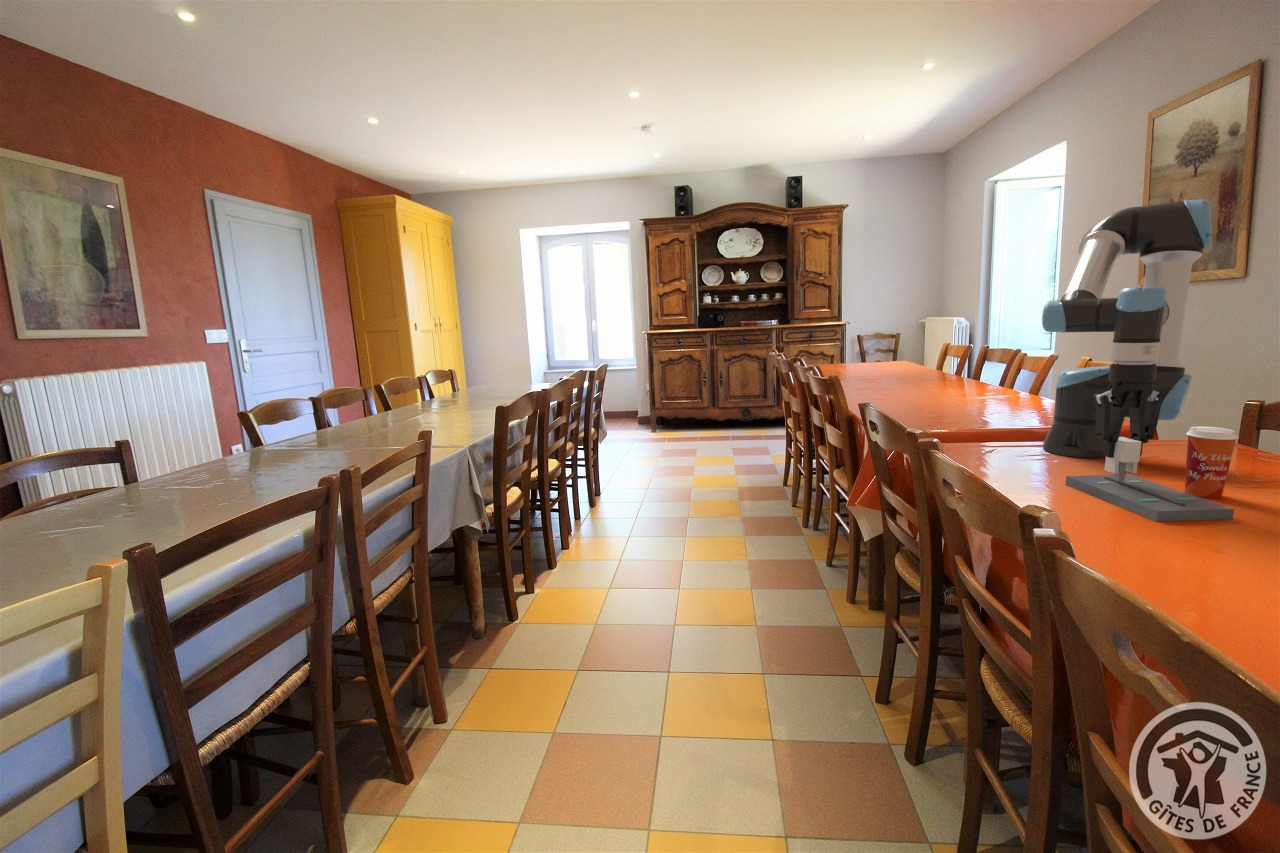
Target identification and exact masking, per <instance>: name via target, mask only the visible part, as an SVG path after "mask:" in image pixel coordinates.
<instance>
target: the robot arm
mask: <svg viewBox="0 0 1280 853" xmlns="http://www.w3.org/2000/svg"><path fill="white" fill-rule="evenodd" d="M1212 230H1213V228H1212V205H1211V203H1210V201H1209V200H1207V199H1202V198H1201V199H1190V200H1189V199H1188V200H1186V199H1183V200H1179V201H1170V202H1165V203H1164V202H1163V203H1158V204H1151V205H1142V206H1132V207H1126V208H1123V209H1120V210H1118V211H1116V212H1113V213H1111V214H1109V215H1107V216H1106V217H1104V218H1103V219H1101V220H1099V221H1098V222H1096V223H1095V224H1094V225H1093V226H1092V227H1091V228H1089V230H1088V231H1087V232H1086V233H1085V234H1084V235H1083V237H1082V238H1081V241H1080V242H1079V246H1078V254H1079V256H1078V258H1077V261H1076V263H1075V266H1074V268H1073V270H1072V272H1071V275H1069V276H1070V277H1069V279H1068V282H1067V283H1066V286H1065V288H1064V291H1063V293H1062V295H1061V297H1060V299H1054V300H1049V301H1047V302H1046V303H1045V304H1044V306H1043V310H1042V317H1041V325H1042V328H1043V330H1044V331H1046V332H1048V333H1061V334H1064V333H1113V338H1112V339H1113V340H1112V344H1111V352H1110V361H1111V362H1113V363H1111V364H1110V365H1109V366H1090V367H1089V366H1088V367H1080V368H1071V369H1065V370H1063V371H1061V372H1060V373H1059V374H1058V376H1057V377H1058V378H1057V382H1056V386H1055V397H1054V398H1055V399H1054V400H1055V402H1054V412H1053V421H1052V424H1051V427H1049V429H1048V432H1047V434H1046V437H1045V438H1044V440H1043V443H1042V444H1043V446H1042V450H1044V451H1045V452H1048V453H1051V454H1055V455H1059V456H1060V455H1061V456H1066V457H1074V458H1075V457H1076V458H1086V459H1087V458H1090V459H1091V458H1092V459H1094V458H1096V459H1097V458H1099V459H1100V458H1105V460H1104V461H1105V462H1104V471H1106V472H1109V473H1112V474H1115V473H1118V467H1119V459H1120V450H1121V444H1120V443H1117V441H1118V438H1119V437H1120V434H1121V431H1122V428H1123V425H1124V421H1125V419H1126V418H1127V419H1129V430H1130V439H1133V440H1137V441H1141V442H1142V443H1141V450H1140V457H1141V456H1142V454H1143V446H1144V444H1147V443H1149V440H1153V439H1155V436H1156V432H1157V427H1158V421H1173V420H1176V419H1178V417H1180V414H1181V413H1182V410H1183V407H1184V405H1185V402H1186V399H1187V397H1188V393H1189V390H1190V386H1191V384H1192V379H1193V376H1192V375H1191V374H1189V373H1186V372H1185V371H1186V366H1185V365H1183V364H1182V362H1181V361H1180V360H1179V357H1180V351H1181V350H1180V349H1181V343H1182V336H1183V330H1184V322H1185V316H1186V309H1187V301H1188V294H1189V288H1190V282H1191V275H1192V268H1193V264H1194V263H1195V262H1196V261H1198V260H1199V259H1200V258H1201V257H1202V256H1203V251H1204V250H1205V249H1208V248H1211V247H1212V245H1213V244H1212V243H1213V241H1212V238H1213V237H1212ZM1129 254H1131V255H1132V254H1133V255H1134V254H1139V261H1140V262H1142V263H1143V264H1144V265H1145V272H1144V277H1143V278H1144V280H1143V286H1142V287H1141V286H1139V287H1137V286H1136V287H1124V288H1122V289H1120V290H1119V292H1118V296H1117V297H1107V298H1105V297H1103V298H1102V296H1103V294H1104V291H1105V289H1106V285H1107V283H1108V281H1109V277H1110V275H1111V273H1112V271H1113V268H1114V265H1115V262H1116V260H1118V259H1119V258H1121V256H1123V255H1129ZM1105 456H1106V457H1105ZM1138 463H1139V462H1127V463H1126V471H1125V472H1129V473H1132V474H1137V471H1138V465H1139V464H1138Z"/></svg>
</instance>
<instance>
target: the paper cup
mask: <svg viewBox="0 0 1280 853" xmlns="http://www.w3.org/2000/svg"><path fill="white" fill-rule="evenodd" d="M1185 435H1187V445H1186V446H1187V448H1186V449H1187V450H1186V457H1185V458H1186V459H1185V461H1186V462H1185V480H1184V481H1185V482H1184V492H1185V493H1188V494H1191V495H1194V496H1197V497H1200V498H1203V499H1221V498H1222V496H1223V493H1224V489H1225V485H1226V482H1227V477H1228V473H1229V470H1230V465H1231V461H1232V457H1233V453H1234V449H1235V446H1236V440H1238V439H1239V438H1240V436H1238V432H1236V430H1234V429H1230V428H1227V427H1226V428H1225V427H1218V426H1216V427H1215V426H1191V427H1190V428H1189V430H1188V431H1187V432H1186V433H1185Z"/></svg>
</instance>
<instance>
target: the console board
mask: <svg viewBox="0 0 1280 853" xmlns="http://www.w3.org/2000/svg"><path fill="white" fill-rule="evenodd" d="M1114 477H1115V474H1095V475H1094V474H1093V475H1091V474H1090V475H1066V478H1065V485H1066V486H1068V487H1071V488H1072V489H1076V490H1077V491H1081V492H1083V493H1086V494H1087V495H1090V496H1092V497H1094V498H1095V497H1096V498H1098V499H1100V500H1102V501H1105V502H1107V503H1110V504H1112V505H1115V506H1117V507H1120V508H1121V509H1125V510H1128V511H1130V512H1132V513H1135V514H1137V515H1139V516H1141V517H1145V518H1147V519H1149V520H1152V521H1154V522H1180V521H1181V522H1183V521H1185V522H1187V521H1213V520H1214V521H1215V520H1216V521H1217V520H1220V521H1221V520H1233V519H1234V515H1235V514H1234V513H1235V508H1233V507H1229V506H1226V505H1223V504H1221V503H1218V502H1214V501H1212V500H1208V499H1207V498H1202V497H1197V496H1194V495H1191V494H1188V493H1185V491H1181V490H1178V489H1175V488H1172V487H1169V486H1166V485H1163V484H1159V483H1157V482H1155V481H1151V480H1149V479H1147V478H1146V479H1145V478H1142V477H1139V476H1136V475H1133V474H1130V473H1125V479H1124V481H1116V480H1114Z"/></svg>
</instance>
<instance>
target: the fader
mask: <svg viewBox="0 0 1280 853" xmlns="http://www.w3.org/2000/svg"><path fill="white" fill-rule="evenodd" d="M1117 443H1120V444H1121V450H1120V459H1119V467H1118V473H1114V475H1115V477H1114V480H1116V481H1124V479H1125V474H1126V472H1127V471H1126V463H1127V462H1138V463H1140V458H1141V456H1140V450H1141V443H1142V442H1141V441H1137V440H1133V439H1131V438H1128V437H1125V436H1119V438H1118V441H1117ZM1104 458H1106V456H1105V457H1104Z"/></svg>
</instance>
